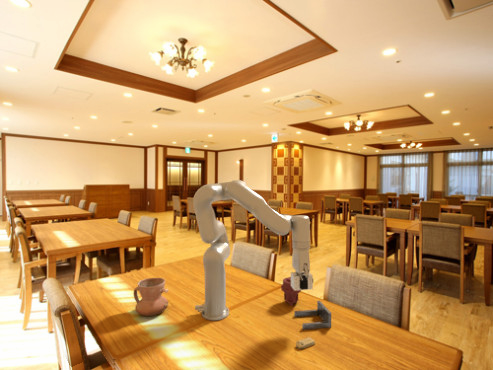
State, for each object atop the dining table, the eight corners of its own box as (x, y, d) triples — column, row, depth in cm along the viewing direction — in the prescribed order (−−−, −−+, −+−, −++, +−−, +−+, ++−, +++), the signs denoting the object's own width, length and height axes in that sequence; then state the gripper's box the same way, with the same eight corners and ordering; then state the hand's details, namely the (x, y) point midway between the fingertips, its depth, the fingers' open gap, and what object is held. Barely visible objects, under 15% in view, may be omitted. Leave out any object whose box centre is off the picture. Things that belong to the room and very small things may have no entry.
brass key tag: (299, 350, 97) (299, 347, 96) (294, 345, 99) (294, 342, 99) (314, 344, 100) (314, 341, 100) (309, 340, 103) (309, 336, 103)
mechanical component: (301, 299, 137) (301, 308, 127) (281, 297, 139) (280, 306, 129) (301, 275, 137) (301, 283, 127) (281, 274, 139) (280, 281, 129)
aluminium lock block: (294, 290, 111) (294, 276, 111) (290, 285, 116) (290, 272, 116) (314, 289, 112) (314, 275, 112) (309, 284, 117) (309, 271, 117)
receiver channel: (303, 329, 110) (303, 315, 109) (294, 315, 121) (294, 302, 121) (331, 327, 111) (331, 313, 111) (319, 313, 123) (319, 300, 122)
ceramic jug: (176, 306, 130) (175, 277, 129) (159, 321, 116) (158, 289, 115) (144, 302, 134) (144, 274, 134) (124, 316, 120) (123, 285, 120)
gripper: (286, 240, 122) (287, 279, 122) (299, 250, 105) (299, 295, 105) (302, 239, 123) (303, 278, 123) (317, 249, 106) (317, 294, 106)
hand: (301, 285), depth 114 cm, fingers closed on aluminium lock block, 5 cm apart
